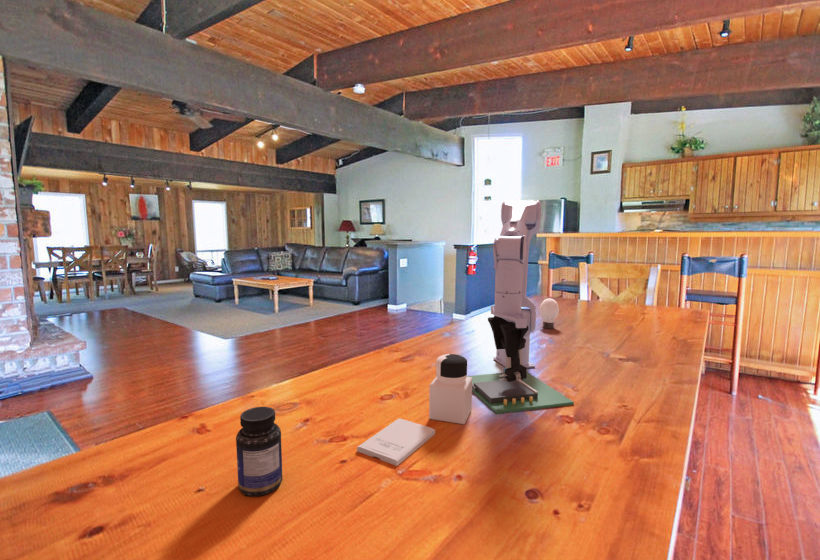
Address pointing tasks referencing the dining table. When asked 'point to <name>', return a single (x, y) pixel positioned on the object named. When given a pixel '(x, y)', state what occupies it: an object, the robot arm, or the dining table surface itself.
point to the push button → (514, 365)
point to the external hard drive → (396, 441)
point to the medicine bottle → (450, 390)
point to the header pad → (505, 390)
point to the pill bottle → (259, 452)
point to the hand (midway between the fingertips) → (506, 352)
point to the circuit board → (545, 397)
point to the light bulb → (549, 312)
